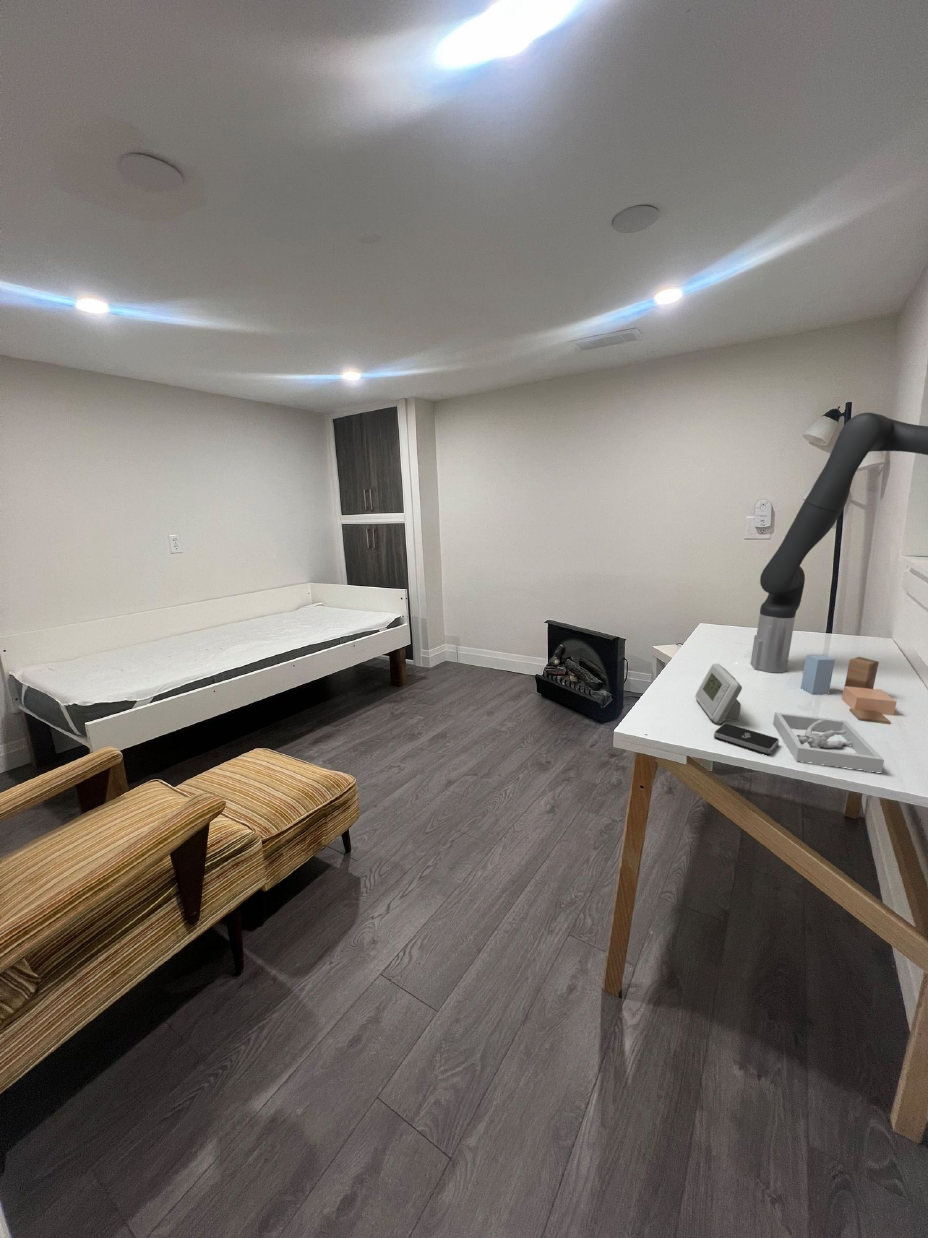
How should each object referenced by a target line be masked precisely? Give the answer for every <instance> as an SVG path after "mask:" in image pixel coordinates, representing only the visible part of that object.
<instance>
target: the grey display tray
mask: <svg viewBox="0 0 928 1238" xmlns="http://www.w3.org/2000/svg"><path fill="white" fill-rule="evenodd" d="M818 720H825V721H823V722H821V723H823V724H818V725H817V726H816V727H815V729H814V730H812V732H821V733H826V732H827V731H831V730H833V731H841V730H846V733H845V734H841V735H840V736H841V737H842V738H843V737H844V738H845V739H846V740H847V741H851V742H852V744H851V746H852V747H853V748H854V749H855V750H854V749H853V748H852V747H851V746H850V747H851V748H852V749H853V750H854V752H855V753H853V752H845V751H837V750H831V749H826V748H820V749H818V748H811V747H810V746H803V745H801V743H800V742H799V740H798V738H797V736H796V734H795V732H794V731H793V730H792V729H795V728H797V730H805V731H807V729H808V727H809V726H811V725H812V724H813V723H815V722H817V721H818ZM772 725H773V726H774V727H775V730H776V731H777V733H778V735H779V736H780V737H781V739H782V741H783V743H784V744H785V745H786V748H787V750H788V751H789V753H790V754H791V756H792V755H793V756H794V757H793V756H792V757H793V759H794V758H795V759H796V761H803V762H812V763H816V764H824V765H828V766H827V767H830V766H838V767H847V768H852V769H862V770H865V771H871V772H872V771H873V772H881V773H882V772H883V767H884V762H885V759H884V758H883V757H882V756H881V754H879V753H878V752H877V751H876V750H875V749H874V747H873V746H871V745H870V743H869V742H868V741H867V740H866V739H865V738H864V737H863V735H861V734H860V733H859V732H858V731H857V730H856V729H855V728H854V727H853V726H852V725H851V724H850V722H848V721H847V720H842V719H837V718H836V719H835V718H834V719H833V718H824V717H818V716H811V715H810V716H809V715H801V714H794V713H793V714H792V713H787V712H786V713H785V712H779V711H778V712H774V715H773V722H772ZM845 739H844V740H845ZM846 740H845V741H846ZM847 741H846V742H847ZM857 753H858V754H857ZM795 759H794V760H795ZM796 761H795V762H796ZM803 762H802V763H803ZM816 764H815V765H816ZM871 772H870V773H871Z"/></svg>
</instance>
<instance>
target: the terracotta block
mask: <svg viewBox="0 0 928 1238" xmlns="http://www.w3.org/2000/svg"><path fill="white" fill-rule="evenodd" d="M841 700H842V701H843V702H844V703H845V704H846V705H847V706H848V707H849V709H850V708H852V709H860V710H869V711H878V712H880V713H881V714H882V715H883V716H885V715H886V716H895V711H896V707H897V701H896V700H895V699H894V698H893V697H891V696H890V695H889V694H887V693H886V692H885V691H883V690H882V689H876V688H873V689H868V688H858V687H848V686H845V685H844V686H843V690H842V695H841Z"/></svg>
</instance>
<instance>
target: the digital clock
mask: <svg viewBox="0 0 928 1238" xmlns="http://www.w3.org/2000/svg"><path fill="white" fill-rule="evenodd" d="M742 688H743V687H742V685H741V684H740V683H739V681H737V679H736V678H735V677H734V676H733V675H732V674H731V673H730V672H729V671H728V670H727V669H726V668H725V667H723V666H722V665H721V664H720V663H717V662H716V663H712V664H711V666H710V668H709V669H708V671H707V673H706V675H705V677H704V679H703V680H702V682H701V684H700V686H699V687H698V689H697V691H696V693H695V695H694V696H695V699H696V700H697V702H698V703H699V705H700V706H701V708H702V709H703V711H704V712H705V714H706V715H707V716H708V717H709V719H710V720H711V721H713V723H714V724H718V725H719V724H722V723H723V722H724V721H737V722H738V721H740V715H741V707H742V705H741V702H740V701H739V700H738V697H739V695H740V694H741V692H742V690H743V689H742Z"/></svg>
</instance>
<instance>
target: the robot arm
mask: <svg viewBox="0 0 928 1238" xmlns="http://www.w3.org/2000/svg"><path fill="white" fill-rule="evenodd" d="M837 436H838V437H837V439H836V441H835V443H834V446H833V448H832V450H831V451H830V452H831V453H830V455H829V457H828V459H827V461H826V464H825V465H824V467H823V469H822V471H821V472H820V474H819V476H818V477H817V479H816V481H815V482H814V484H813V486H812V487H811V490H810V491H809V493H808V495H807V496H806V497H805V500H804V501H803V503H802V505H801V507H800V508H799V510H798V512H797V514H796V515H795V518H794V520H793V521H792V523H791V525H790V527H789V529H788V531H787V532H786V534H785V536H784V539H783V540H782V542H781V544H780V546H779V547H778V548H777V550H776V551H775V553H774V554H773V556H772V557H771V559H770V560H769V561H768V563H767V564H766V565H765V567H764V568H763V570H762V572H761V574H760V578H759V581H760V582H759V583H760V586H761V588H762V590H763V591H764V592H765V593H767V594H768V595H767V597H766V598H765V601H763V603H762V604H760V605H761V606H760V608H759V615H758V623H757V630H756V635H754V638H753V644H752V650H751V656H750V657H751V659H750V665H751V666H752V668H753V669H754V670H758V671H763V672H768V673H775V674H777V673H785V672H786V671H787V669H788V663H789V656H790V651H791V645H792V639H793V633H794V626H795V620H796V613H797V610H798V609H799V608H800V607H801V601H802V597H803V592H804V587H805V580H806V575H805V571H804V569H803V568H802V566H801V564H803V563H802V562H803V561H804V559H805V557H806V556H807V555H808V554H809V553H810V551H811V550H813V549H814V547H815V546H816V545H817V544H818V543H819V542H820V541H821V540H822V539H823V538H824V537H825V536H826V535H827V534H829V532H830V530H831V529H832V528H833V527H834V525H835V524H836V522H837V521H838V519H839V517H840V515H841V514H842V513H843V510H844V508H845V507H846V504H847V502H848V498H849V495H850V492H851V487H852V485H853V484H852V483H853V479H854V477H855V474H856V472H858V471H857V470H858V469H859V467H860V466H861V464H862V463H863V461H864V460H865V458H866V457H867V455H868V454H869V453H871V452H903V453H914V454H919V455H925V456H928V425H919V424H913V423H908V422H904V421H899V420H895V419H893V418H889V417H887V416H885V415H883V414H880V413H879V414H878V413H874V412H861V413H858V414H856V415H854V416H853V417H851V418H850V419H849V420H848V421H846V423H845V424H844V425H843V426H842V429H841V430H840V431H839V434H838V435H837Z"/></svg>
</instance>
